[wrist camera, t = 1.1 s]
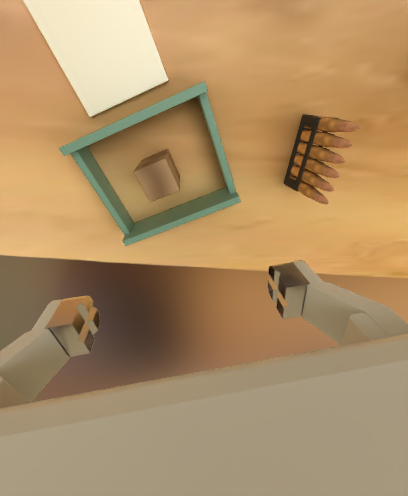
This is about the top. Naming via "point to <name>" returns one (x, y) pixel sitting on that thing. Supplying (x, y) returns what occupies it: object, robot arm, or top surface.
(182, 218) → the box
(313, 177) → the ammunition clip
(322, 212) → the top surface
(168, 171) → the walnut block
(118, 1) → the board
